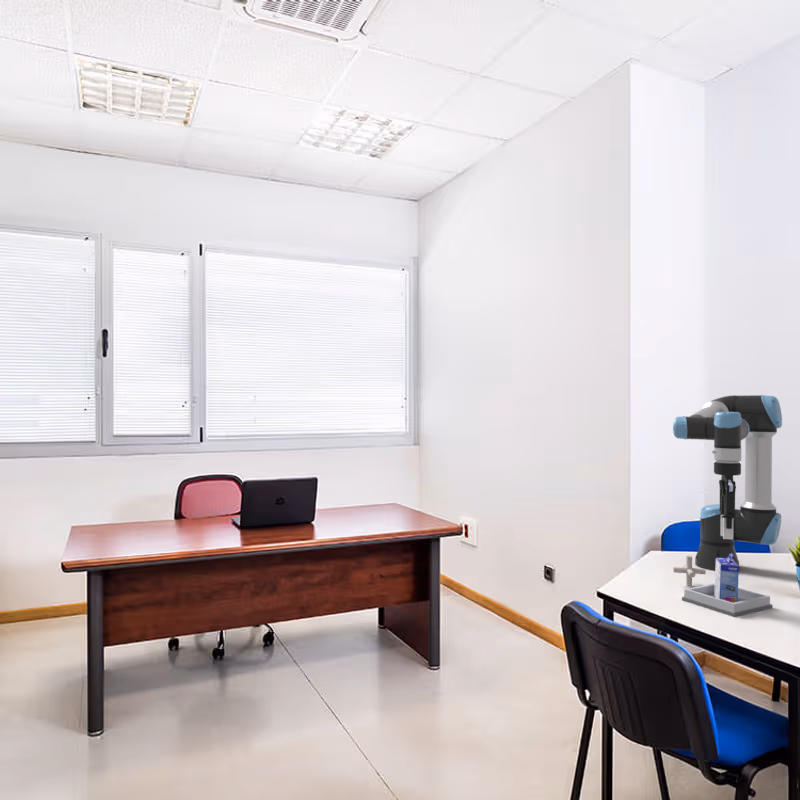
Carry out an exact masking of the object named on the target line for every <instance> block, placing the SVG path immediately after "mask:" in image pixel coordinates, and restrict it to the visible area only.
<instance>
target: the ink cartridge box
mask: <svg viewBox="0 0 800 800" xmlns="http://www.w3.org/2000/svg"><path fill="white" fill-rule="evenodd" d="M730 556H731V558H730ZM733 556H734V555H733V554H732V553H731V554H730V555H729V556H728V558H716V567H715V570H714V571H715V572H714V583H715V590H714V595H715V597H716V598H719V599H722V600H725V601H729V602H732V603H735V602H738V588H739V572H740V565H739V566H738V564H737V563H736V562H735V561H734V560H733V559H732V558H733Z"/></svg>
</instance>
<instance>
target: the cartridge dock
mask: <svg viewBox="0 0 800 800" xmlns="http://www.w3.org/2000/svg"><path fill="white" fill-rule="evenodd" d="M714 590H715V582H714V583H710V584H705V585H699V586H694V587H689V588H685V589H684V590H683V591H684V595H683V596H681V600H682V601H683V602H685V603H690V604H693V605H696V606H699V607H702V608H704V609H705V608H706V609H708V610H711V611H715V612H718V613H721V614H724V615H728V616H729V617H730V616H731V617H733V618H735V617H740V616H741V617H742V616H744V615H748V614H749V615H750V614H753V613H757V612H762V611H767V610H769V609H773V606H774V605H773V604H771V596H770V595H767V594H764V593H759V592H756V591H752V590H750V589H749V590H748V589H745V588H742V587H738V602H735V603H732V602H729V601H725V600H722V599H719V598H716V597H715V595H714Z"/></svg>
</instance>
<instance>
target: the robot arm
mask: <svg viewBox="0 0 800 800" xmlns="http://www.w3.org/2000/svg"><path fill="white" fill-rule="evenodd" d="M782 416H783V414H782V409H781V405H780V401H779V400H778V398H777V397H776V396H774V395H766V394H765V395H764V394H760V395H752V394H751V395H726V396H721V397H717V398H715V399H713V400H710V401H708V402H706V403H704V405H703V407H702V408H701V409H700V410H698V411H697V412H695V413H693V414H691V415H690V416H685V415H684V416H677V417H675V418H674V419H673V424H672V431H673V432H672V433H673V435H674V437H675V438H676V439H681V440H682V439H683V440H700V441H701V440H702V441H703V440H704V441H705V440H707V441H714V442H713V444H714V445H713V447H714V449H713V450H712V451H711V454H713V455H714V457H713V459H714V461H715V462H714V463H713V473H714V474H715V475H719V476H720V477H721V479H719V480H718V484H719V504H708V505H704V506H702V507H701V509H700V517H699V520H700V521H699V522H700V523H699V525H700V526H699V527H700V528H699V529H700V534H699V538H700V540H699V543H700V544H699V546H698V549H697V552H696V555H695V558H694V564H695V566H697V567H700V568H701V569H705V570H706V569H707V570H712V571H715V567H716V558H728V556H729V555H730V554H731V553H732V554H733V555H734V556H733V558H732V559H733V560H734V561H735V562H736V563H737V564H738V566H739V567H740V560H739V559H738V555H737V552H736V549H735V541H736V542H745V543H753V544H759V545H774V544H775V543H776V542H777V540H778V538H779V536H780V531H781V526H782V525H781V524H782V514H781V513H780V512H777V507H776V506H775V505H774V504H773V503H772V500H773V499H772V491H773V490H772V488H773V487H772V486H773V484H772V482H773V481H772V480H773V479H772V478H773V477H772V475H773V474H772V470H773V468H772V467H773V466H772V465H773V437H774V436H775V435H776V434H777V433H778V430H777V429H780V428H782V426H783V417H782ZM744 439H745V441H744V443H745V445H744V447H745V448H744V449H745V455H744V457H745V459H744V460H745V461H744V462H745V463H744V466H745V467H744V473H745V475H744V478H745V479H744V488H745V489H744V502H742V503H741V504H740V505H739V507H740V509H738V508H737V509H736V491H737V486H736V481H735V480H734V476H740V475H741V474H742V464H741V463H740V462H741V461H742V441H743V440H744ZM730 558H731V556H730Z"/></svg>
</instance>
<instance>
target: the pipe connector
mask: <svg viewBox="0 0 800 800" xmlns="http://www.w3.org/2000/svg"><path fill="white" fill-rule="evenodd" d="M685 558H686V559H685V561H686V562H685V563H686V564H684V565H683V567H679V566H678V567H677V566H673V567H672V568H673V569H672V571H673V573H678V574H686V576H685V578H686V579H685V585H686V586H687V587H693V578H695V577H696V575H706V568H698V567H697V568H696V567H695V568H694V567H693V556H692V555H686V557H685Z"/></svg>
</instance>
